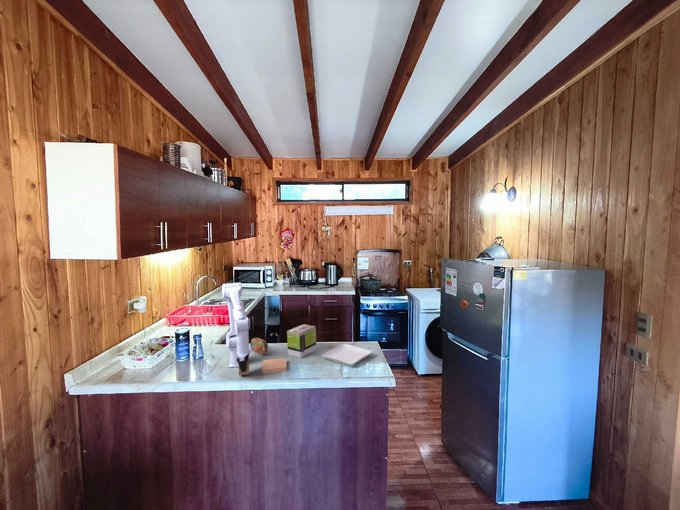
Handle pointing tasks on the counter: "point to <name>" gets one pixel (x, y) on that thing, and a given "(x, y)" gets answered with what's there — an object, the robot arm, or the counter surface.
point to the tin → (259, 346)
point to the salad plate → (347, 354)
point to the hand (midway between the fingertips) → (243, 369)
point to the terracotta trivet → (274, 365)
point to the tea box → (301, 340)
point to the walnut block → (246, 369)
